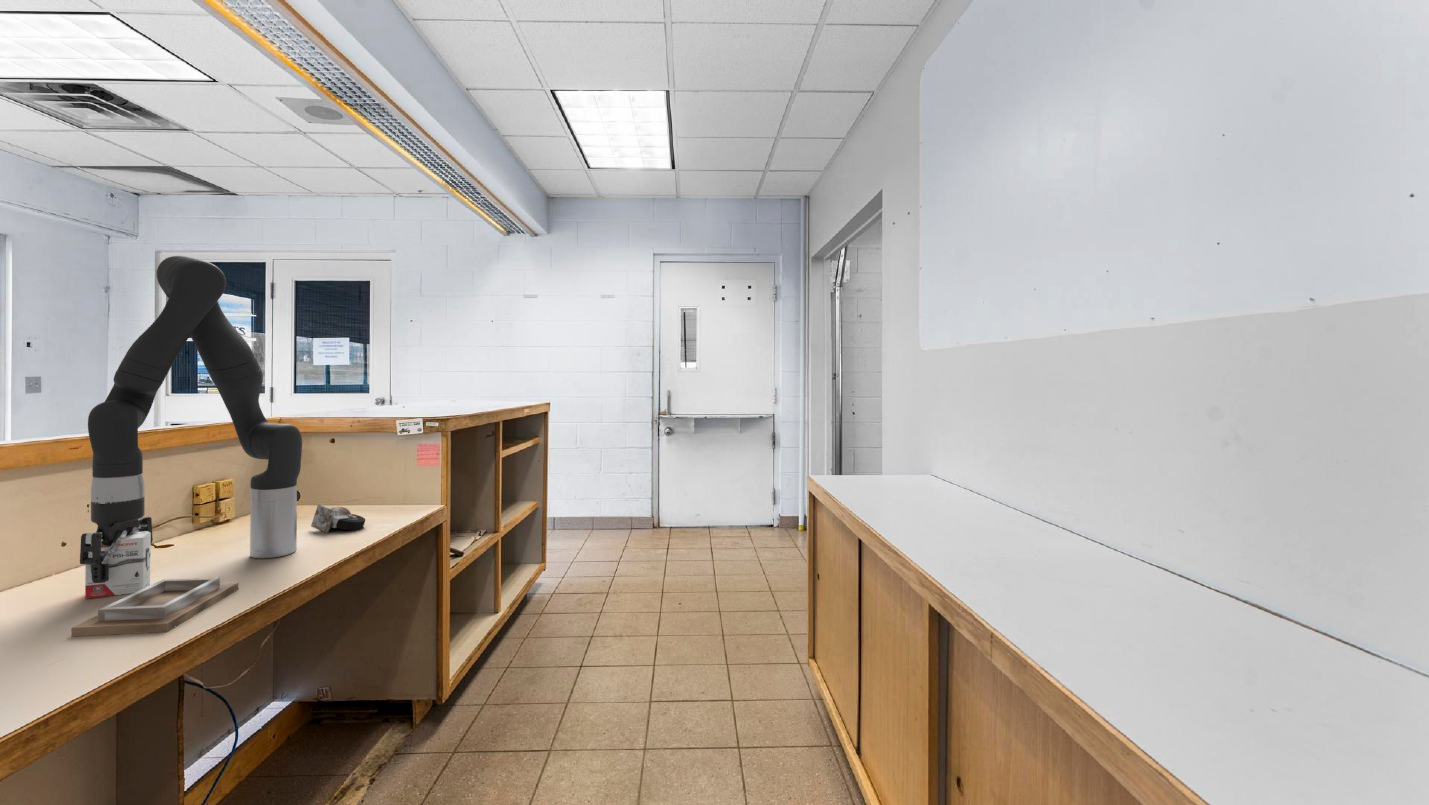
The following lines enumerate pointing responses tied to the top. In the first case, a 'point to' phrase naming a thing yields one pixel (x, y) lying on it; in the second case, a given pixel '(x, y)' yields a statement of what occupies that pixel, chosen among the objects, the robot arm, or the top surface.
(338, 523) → the caster wheel
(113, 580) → the ink box
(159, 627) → the locator board
